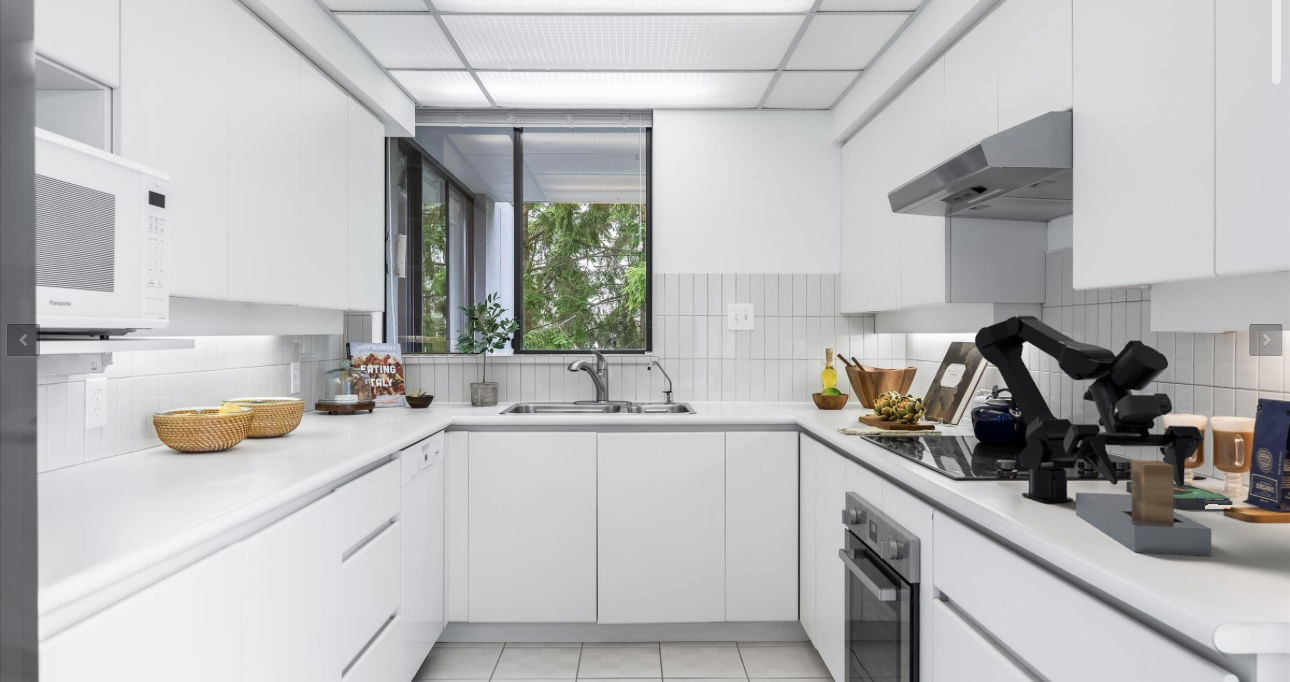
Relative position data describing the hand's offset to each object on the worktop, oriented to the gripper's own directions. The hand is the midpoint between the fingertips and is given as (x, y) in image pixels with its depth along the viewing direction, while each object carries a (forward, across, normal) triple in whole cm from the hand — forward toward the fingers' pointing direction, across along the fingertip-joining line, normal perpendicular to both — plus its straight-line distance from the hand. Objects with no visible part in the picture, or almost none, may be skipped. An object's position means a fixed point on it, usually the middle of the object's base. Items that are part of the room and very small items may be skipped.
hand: (1148, 484), depth 109 cm
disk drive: (-15, +18, +28) cm, 37 cm away
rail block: (+3, 0, +9) cm, 10 cm away
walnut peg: (+7, 0, +6) cm, 9 cm away
